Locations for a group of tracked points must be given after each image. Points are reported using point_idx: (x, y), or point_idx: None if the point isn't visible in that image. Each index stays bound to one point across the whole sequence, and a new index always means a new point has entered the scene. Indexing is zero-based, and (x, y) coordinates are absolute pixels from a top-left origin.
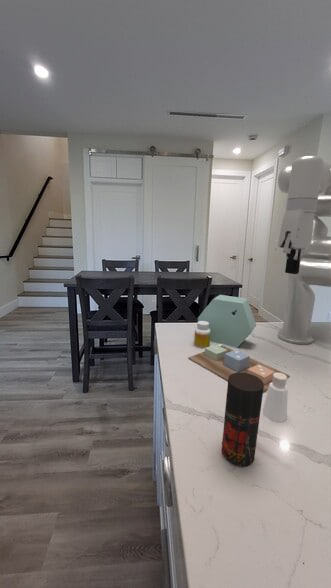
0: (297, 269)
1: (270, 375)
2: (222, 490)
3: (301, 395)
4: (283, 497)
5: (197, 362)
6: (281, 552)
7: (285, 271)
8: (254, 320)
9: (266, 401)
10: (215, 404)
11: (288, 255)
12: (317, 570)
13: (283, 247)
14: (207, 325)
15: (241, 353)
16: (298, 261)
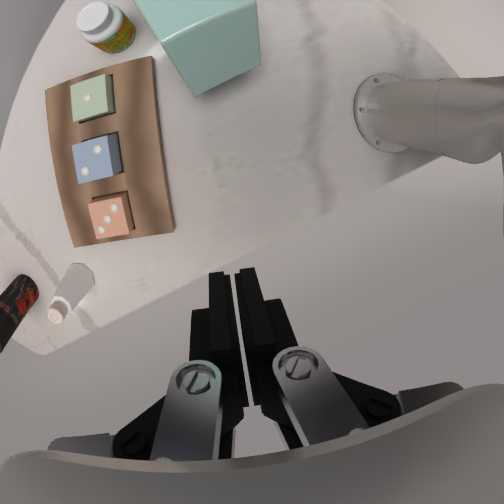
0: (245, 353)
1: (115, 235)
2: None
3: (159, 262)
4: (43, 328)
5: (47, 116)
6: (28, 341)
7: (210, 276)
8: (257, 56)
9: (58, 286)
10: (32, 219)
11: (150, 422)
12: (41, 353)
13: (112, 469)
14: (92, 31)
15: (104, 157)
16: (244, 405)
